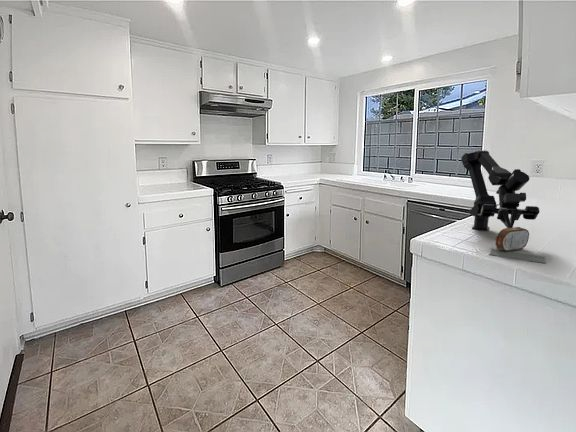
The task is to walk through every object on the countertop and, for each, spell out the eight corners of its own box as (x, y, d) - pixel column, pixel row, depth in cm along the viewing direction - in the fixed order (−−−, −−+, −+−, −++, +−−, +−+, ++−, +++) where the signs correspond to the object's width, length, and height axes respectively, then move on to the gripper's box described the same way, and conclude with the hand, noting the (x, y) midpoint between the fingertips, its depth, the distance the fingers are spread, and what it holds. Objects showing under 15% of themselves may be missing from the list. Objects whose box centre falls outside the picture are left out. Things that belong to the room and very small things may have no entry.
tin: (520, 246, 126) (523, 225, 124) (529, 248, 123) (532, 227, 121) (493, 250, 120) (496, 228, 119) (501, 253, 117) (504, 230, 116)
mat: (491, 249, 123) (492, 248, 123) (545, 257, 114) (545, 256, 114) (489, 254, 117) (489, 254, 117) (545, 263, 108) (545, 262, 108)
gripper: (484, 184, 130) (486, 217, 122) (541, 185, 123) (547, 220, 115) (479, 200, 138) (481, 232, 131) (532, 202, 131) (537, 235, 124)
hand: (510, 229), depth 125 cm, fingers closed
